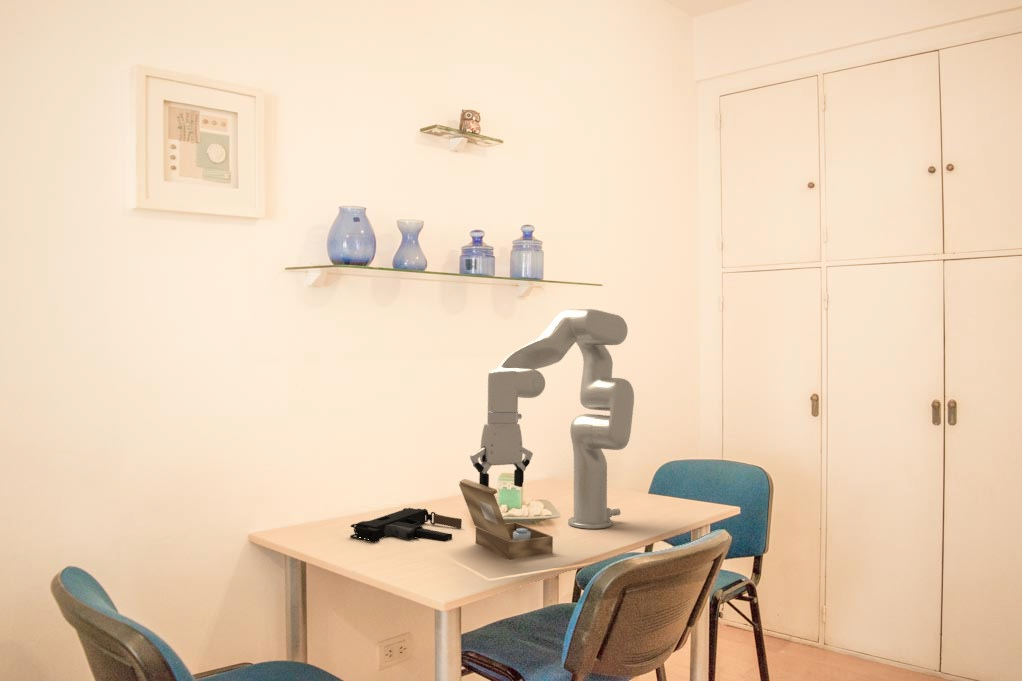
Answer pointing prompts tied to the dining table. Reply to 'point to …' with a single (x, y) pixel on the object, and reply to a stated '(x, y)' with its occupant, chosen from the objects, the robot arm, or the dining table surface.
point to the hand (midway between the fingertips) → (501, 487)
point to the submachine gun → (404, 526)
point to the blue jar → (521, 534)
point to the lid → (484, 508)
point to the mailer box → (516, 542)
